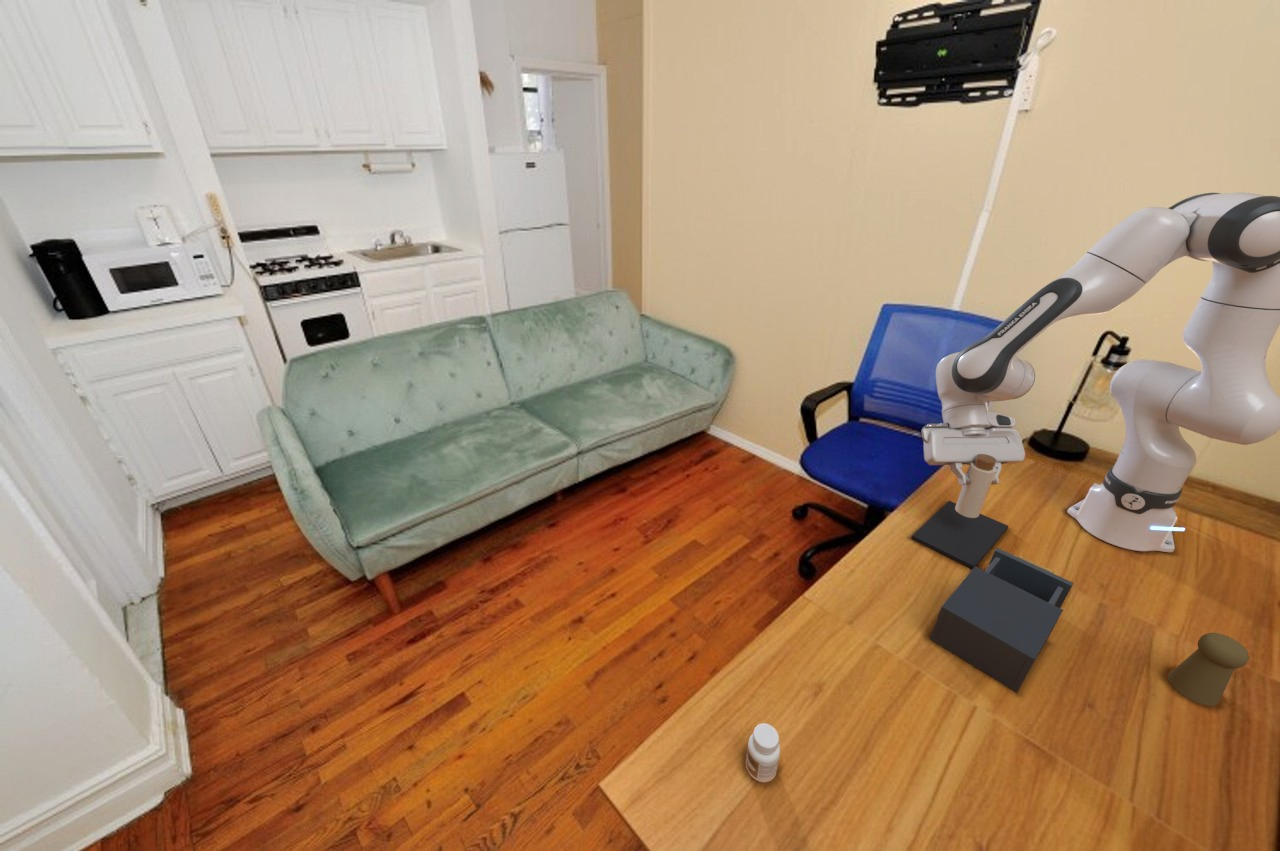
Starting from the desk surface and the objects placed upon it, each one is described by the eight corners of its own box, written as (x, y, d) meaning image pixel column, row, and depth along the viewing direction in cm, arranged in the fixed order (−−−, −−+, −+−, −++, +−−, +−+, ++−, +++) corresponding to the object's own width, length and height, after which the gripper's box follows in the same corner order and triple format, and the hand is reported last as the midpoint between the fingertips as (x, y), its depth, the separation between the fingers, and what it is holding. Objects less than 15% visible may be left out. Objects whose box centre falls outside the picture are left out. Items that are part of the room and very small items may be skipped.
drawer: (994, 561, 107) (1004, 538, 104) (1067, 596, 98) (1080, 571, 95) (960, 604, 97) (969, 580, 94) (1037, 647, 88) (1050, 622, 85)
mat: (948, 503, 126) (949, 500, 125) (1007, 529, 117) (1008, 525, 117) (910, 538, 115) (912, 535, 114) (973, 570, 106) (974, 566, 105)
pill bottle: (741, 752, 75) (746, 721, 71) (770, 749, 75) (776, 718, 71) (750, 785, 71) (755, 753, 67) (780, 781, 71) (787, 750, 67)
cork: (1230, 709, 79) (1270, 663, 74) (1184, 702, 80) (1221, 656, 75) (1200, 674, 84) (1236, 629, 79) (1158, 668, 85) (1190, 623, 80)
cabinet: (962, 597, 99) (975, 566, 96) (1045, 642, 90) (1063, 609, 86) (929, 638, 91) (941, 606, 87) (1017, 693, 82) (1034, 659, 78)
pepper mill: (968, 503, 115) (987, 451, 109) (984, 516, 111) (1005, 463, 105) (949, 506, 115) (967, 453, 108) (965, 519, 110) (985, 465, 104)
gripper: (927, 419, 110) (939, 482, 106) (1022, 418, 110) (1037, 481, 106) (913, 427, 116) (923, 487, 112) (1002, 426, 116) (1016, 486, 112)
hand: (979, 484), depth 109 cm, fingers closed on pepper mill, 5 cm apart
